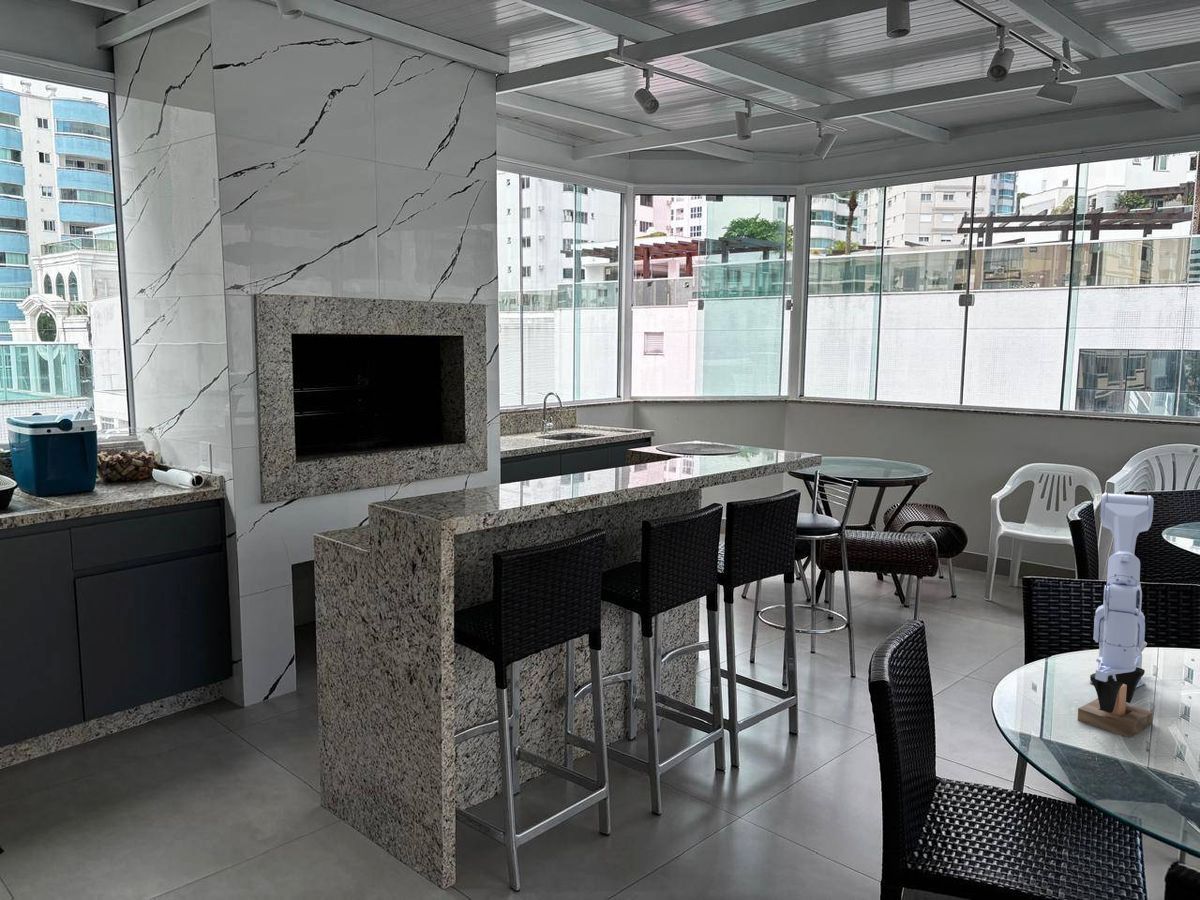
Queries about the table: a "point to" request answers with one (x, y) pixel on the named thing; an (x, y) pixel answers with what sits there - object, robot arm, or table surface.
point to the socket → (1116, 718)
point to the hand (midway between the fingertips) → (1115, 706)
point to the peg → (1120, 702)
